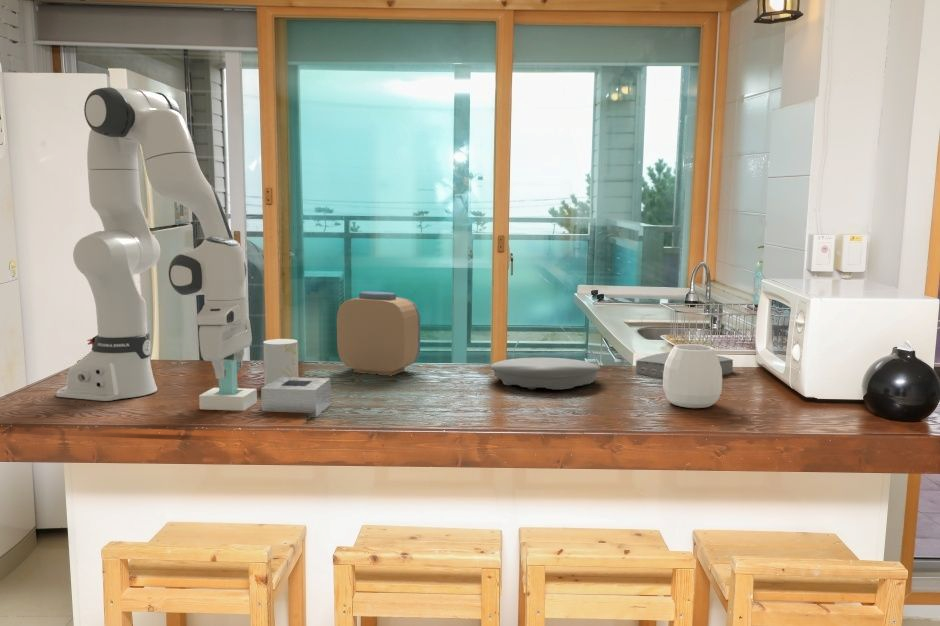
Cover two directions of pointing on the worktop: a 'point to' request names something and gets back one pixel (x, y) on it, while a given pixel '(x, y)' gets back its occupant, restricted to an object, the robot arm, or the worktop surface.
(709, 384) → the cup
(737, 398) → the worktop surface
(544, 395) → the worktop surface
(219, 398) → the white square-hole block
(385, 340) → the alarm clock
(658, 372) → the electronic device
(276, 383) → the port
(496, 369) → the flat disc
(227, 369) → the plug
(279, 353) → the cup
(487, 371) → the worktop surface
